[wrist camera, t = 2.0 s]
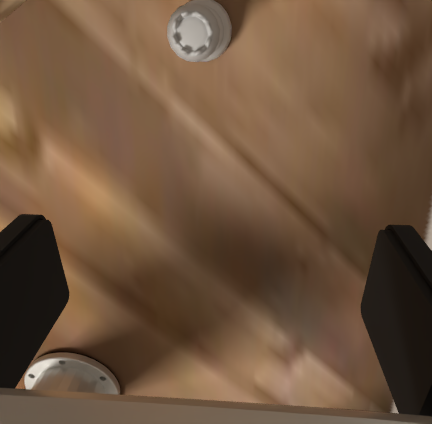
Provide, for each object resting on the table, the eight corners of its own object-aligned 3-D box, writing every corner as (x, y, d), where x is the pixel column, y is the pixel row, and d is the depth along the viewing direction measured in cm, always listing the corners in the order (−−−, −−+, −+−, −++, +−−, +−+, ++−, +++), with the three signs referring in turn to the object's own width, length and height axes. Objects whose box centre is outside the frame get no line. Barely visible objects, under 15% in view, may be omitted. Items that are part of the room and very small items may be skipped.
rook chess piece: (209, 73, 30) (199, 89, 23) (164, 36, 29) (139, 41, 22) (243, 25, 28) (244, 26, 21) (197, -17, 27) (182, -30, 20)
